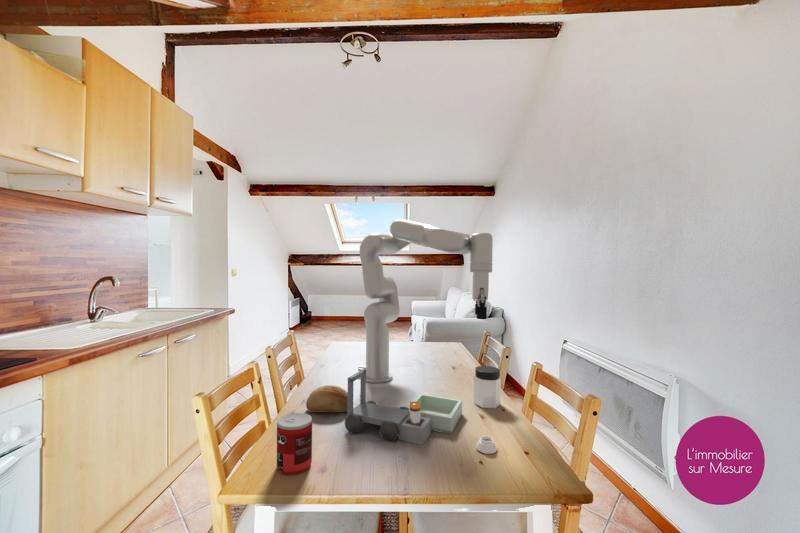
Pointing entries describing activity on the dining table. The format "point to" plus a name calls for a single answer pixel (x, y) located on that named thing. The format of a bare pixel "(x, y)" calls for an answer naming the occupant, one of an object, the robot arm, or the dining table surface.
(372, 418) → the trolley
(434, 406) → the tray
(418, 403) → the stop pin
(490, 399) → the jar
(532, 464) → the dining table surface
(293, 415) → the canned food
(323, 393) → the bread roll
